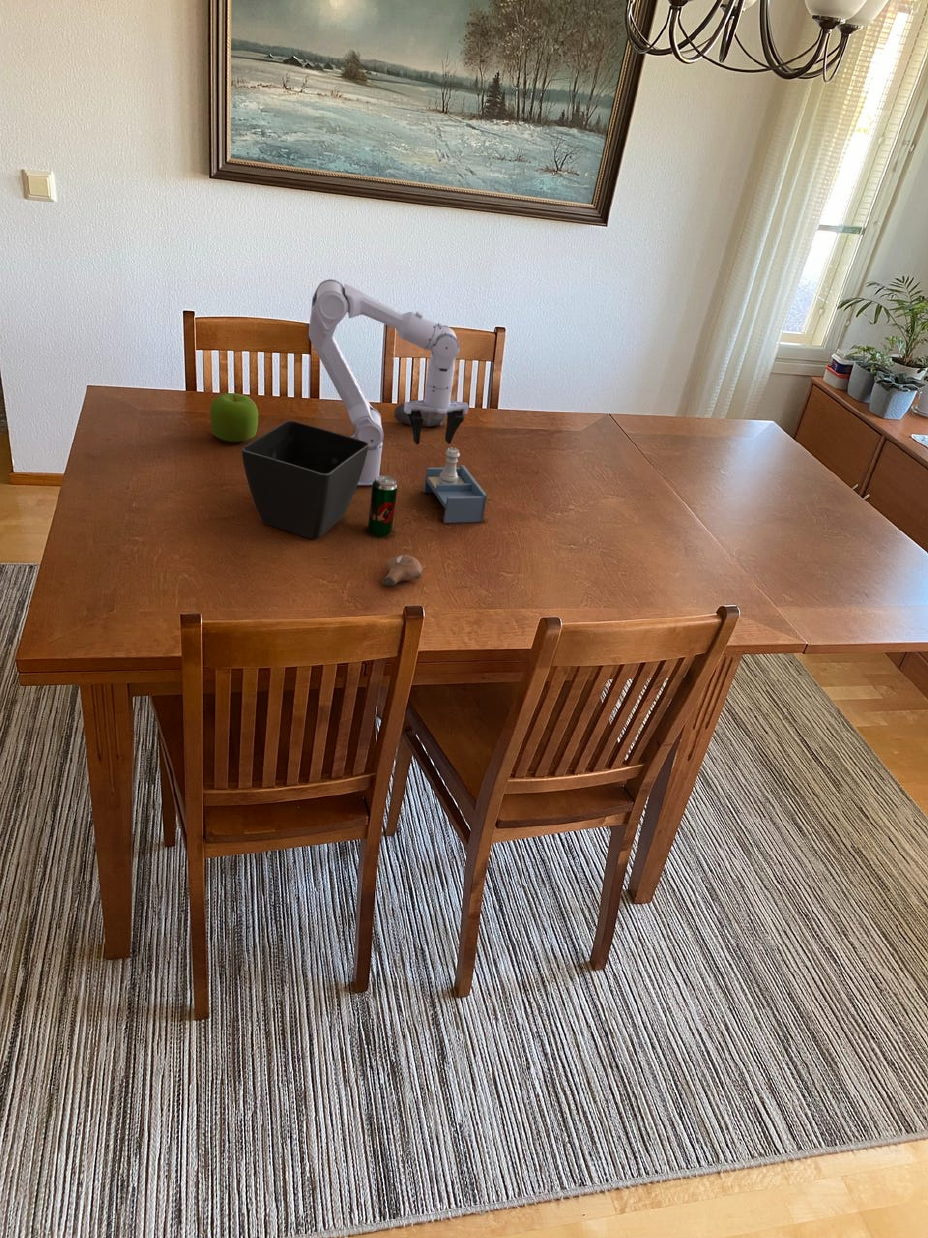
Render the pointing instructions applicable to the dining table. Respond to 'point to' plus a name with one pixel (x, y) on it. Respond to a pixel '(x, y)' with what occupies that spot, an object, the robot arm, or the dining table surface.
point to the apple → (233, 417)
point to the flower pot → (303, 476)
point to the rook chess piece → (450, 467)
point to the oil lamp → (402, 570)
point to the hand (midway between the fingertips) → (432, 442)
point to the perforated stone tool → (428, 417)
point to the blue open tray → (457, 496)
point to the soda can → (382, 506)
